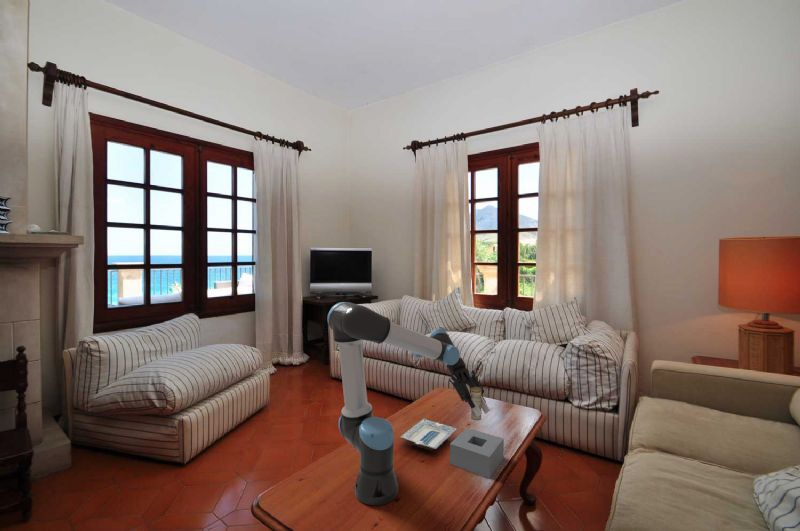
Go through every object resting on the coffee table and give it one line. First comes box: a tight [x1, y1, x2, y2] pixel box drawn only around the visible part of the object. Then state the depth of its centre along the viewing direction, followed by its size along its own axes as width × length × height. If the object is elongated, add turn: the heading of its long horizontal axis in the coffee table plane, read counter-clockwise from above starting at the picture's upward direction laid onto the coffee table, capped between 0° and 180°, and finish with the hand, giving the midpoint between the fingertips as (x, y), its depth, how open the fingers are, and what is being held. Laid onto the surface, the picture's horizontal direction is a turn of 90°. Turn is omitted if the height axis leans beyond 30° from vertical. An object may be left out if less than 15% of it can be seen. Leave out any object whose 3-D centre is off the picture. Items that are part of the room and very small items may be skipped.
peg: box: [470, 387, 482, 422], centre depth 139 cm, size 4×4×12 cm
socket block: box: [449, 427, 505, 480], centre depth 139 cm, size 16×16×8 cm
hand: (483, 413), depth 136 cm, fingers closed on peg, 4 cm apart
